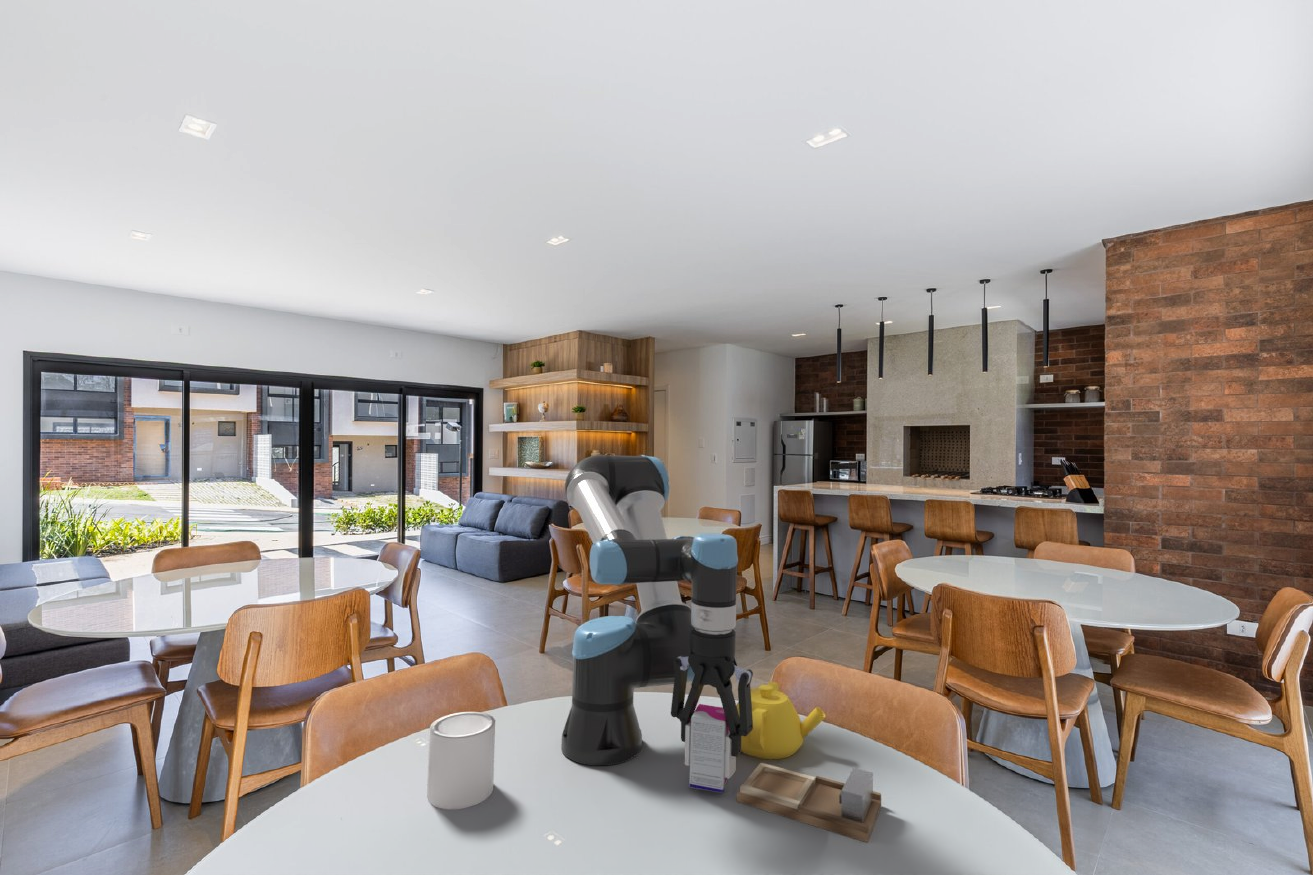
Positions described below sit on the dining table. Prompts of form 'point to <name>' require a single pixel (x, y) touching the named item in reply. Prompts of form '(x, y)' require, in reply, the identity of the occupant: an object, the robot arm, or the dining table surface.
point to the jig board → (805, 800)
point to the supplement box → (708, 748)
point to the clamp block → (857, 795)
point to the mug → (461, 760)
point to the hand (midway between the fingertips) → (709, 767)
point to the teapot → (776, 724)
